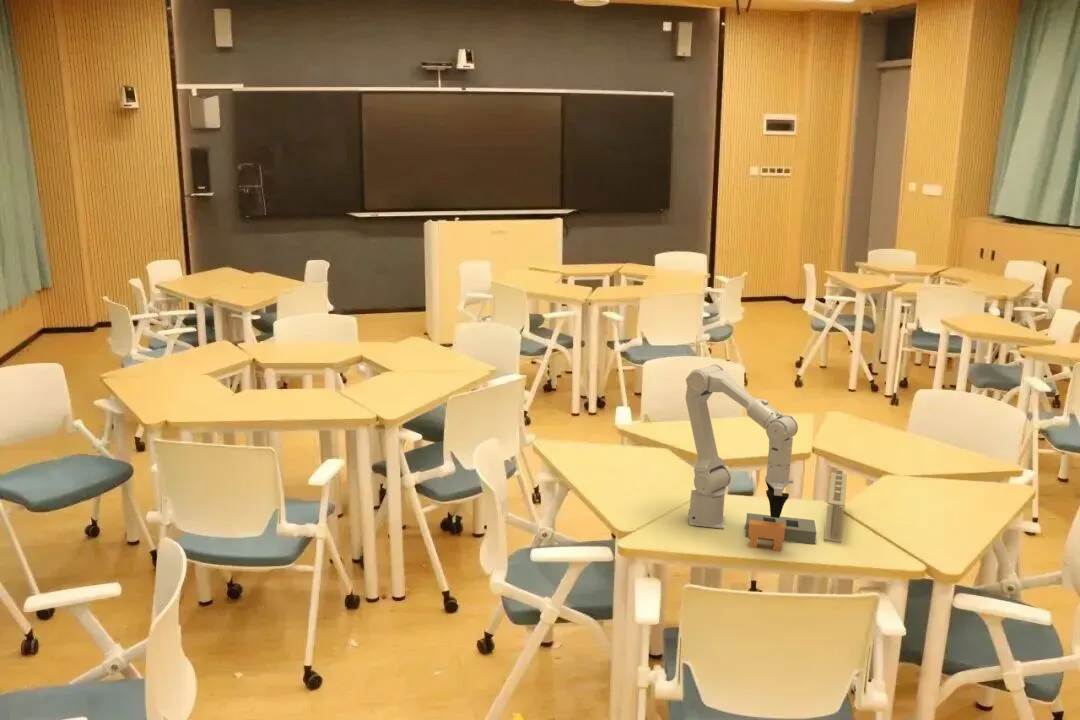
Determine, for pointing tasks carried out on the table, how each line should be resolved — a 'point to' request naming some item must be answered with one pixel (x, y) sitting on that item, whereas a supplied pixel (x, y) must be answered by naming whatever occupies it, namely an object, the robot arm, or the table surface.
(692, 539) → the table surface
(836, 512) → the test tube rack
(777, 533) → the orange c-shaped bracket
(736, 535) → the table surface
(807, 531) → the socket rail
